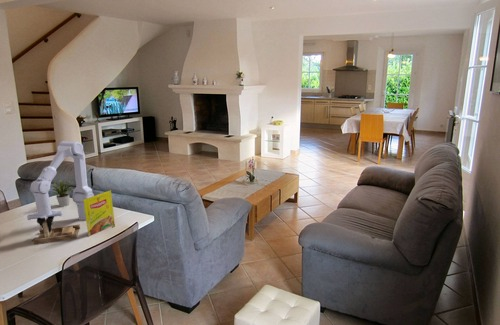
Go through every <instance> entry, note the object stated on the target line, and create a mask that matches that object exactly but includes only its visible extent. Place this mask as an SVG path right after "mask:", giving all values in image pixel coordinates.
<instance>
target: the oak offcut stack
mask: <svg viewBox="0 0 500 325" xmlns="http://www.w3.org/2000/svg"><path fill="white" fill-rule="evenodd" d="M70 226H71V225H70ZM74 232H75V228H73V226H71V227H65V228H63V230H62V234H61V236H63V235H71V234H74Z"/></svg>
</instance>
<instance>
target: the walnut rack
mask: <svg viewBox="0 0 500 325" xmlns="http://www.w3.org/2000/svg"><path fill="white" fill-rule="evenodd" d="M71 226H73V228H75V232H74V234H71V235H63V236H61V234H62V230H63V228H65V227H71ZM80 229H81V225H80V224H73V225H66V226H65V225H64V226H57V227H52V233H51V235H50V237H47V238H45V235H44V231H43V229H42V228H41V229H39V235H38V236H37V238H34V239H33V240H32V243H33V245H38V244H43V243H45V244H46V243H52V242H53V243H54V242H62V241H68V240H75V239H77V237H78V235H79V232H80Z"/></svg>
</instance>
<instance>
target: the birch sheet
mask: <svg viewBox="0 0 500 325" xmlns="http://www.w3.org/2000/svg"><path fill="white" fill-rule="evenodd" d="M47 218H48V217H46V218H45V221H44V222H43V224H42V225H43V230H44V235H45V238H47V237H50V235H51V233H52V230H51V232H49V229H48V224H47V221H46V219H47Z"/></svg>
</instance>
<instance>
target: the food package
mask: <svg viewBox="0 0 500 325" xmlns="http://www.w3.org/2000/svg"><path fill="white" fill-rule="evenodd" d="M83 202H84V209H85V215H86V220H85V222H86V228H87V234H88V235H87V236H88V237H91V236H93V235H95V234H98V233H100V232H102V231H104V230H106V229H108V228H115V227H116V221H115V214H114V213H115V212H114V207H113V206H114V205H113V198H112V190H111V189H110V190H107V191H105V192H101V193H99V194H96V195H95V194H94V196H93V197H90V198H87V199H84V200H83Z"/></svg>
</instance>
